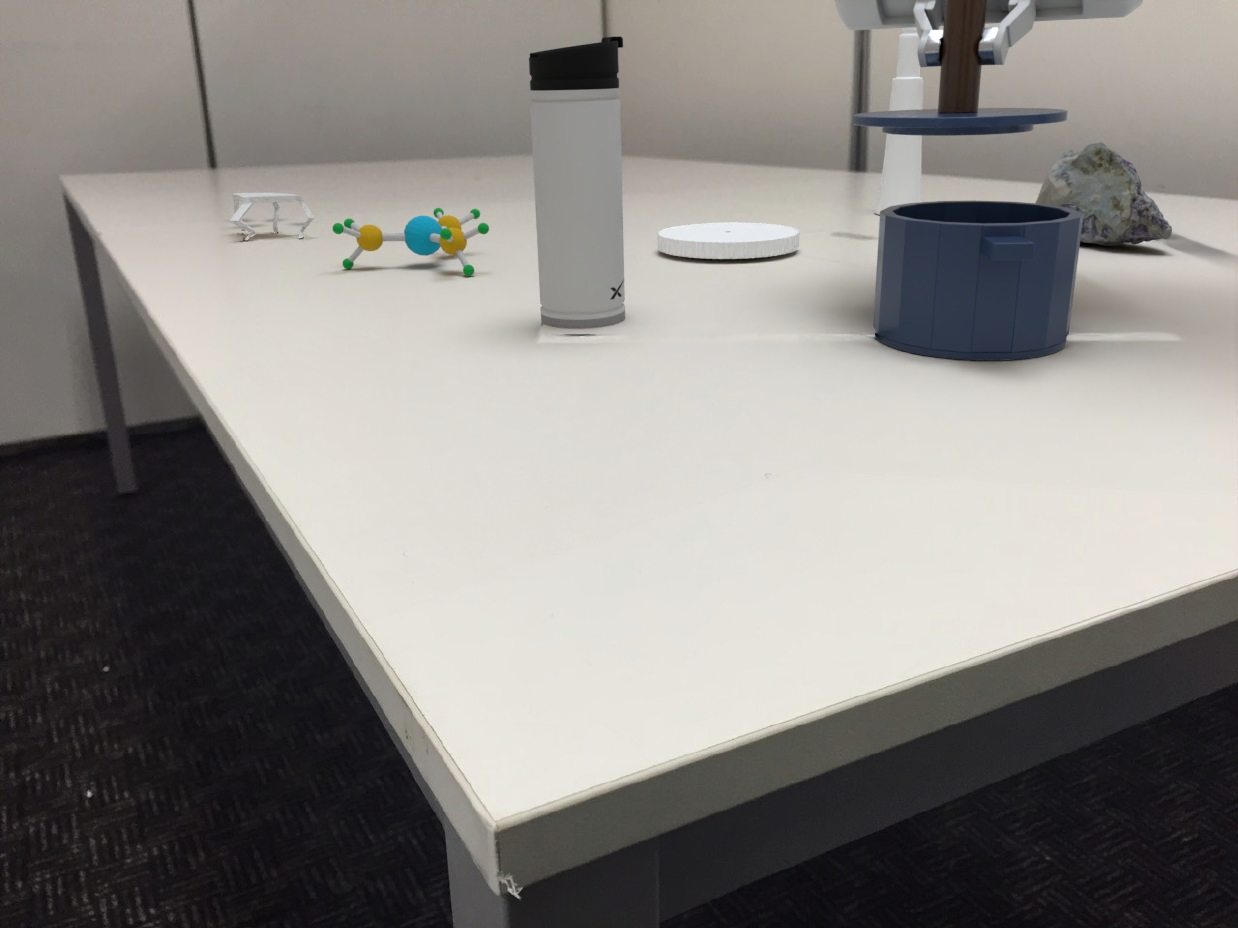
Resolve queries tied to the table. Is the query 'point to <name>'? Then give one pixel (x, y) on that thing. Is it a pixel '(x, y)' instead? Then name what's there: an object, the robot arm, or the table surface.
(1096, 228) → the mineral rock
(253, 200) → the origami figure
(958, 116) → the tin lid
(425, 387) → the table surface
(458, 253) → the molecular model
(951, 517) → the table surface
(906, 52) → the cosmetic bottle
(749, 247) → the plastic lid
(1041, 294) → the tin
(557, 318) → the travel mug
